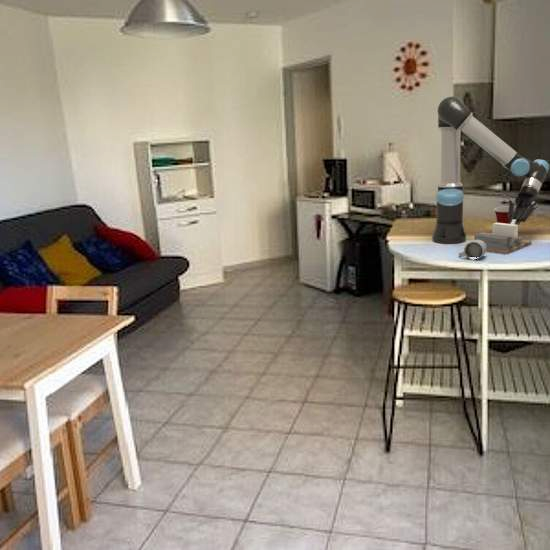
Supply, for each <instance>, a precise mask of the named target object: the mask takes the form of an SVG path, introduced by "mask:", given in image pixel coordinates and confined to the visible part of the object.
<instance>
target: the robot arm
mask: <svg viewBox="0 0 550 550" xmlns="http://www.w3.org/2000/svg"><path fill="white" fill-rule="evenodd" d="M437 118H438V119H437V128H438V130H439V131H441V132H440V133H441V135H440V136H441V145H440V146H441V149H440V150H441V156H440V157H441V158H440V159H441V160H440V162H441V165H440V167H441V168H440V176H441V177H440V179H441V180H440V183H439V184H438V185H437V193H436V224H435V228H434V231H433V233H432V239H431V240H432V242H434V243H437V244H446V245H447V244H454V245H455V244H459V243H460V244H461V243H465V242H466V241H467V234H466V232H465V227H464V224H463V220H464V217H463V215H464V198H465V197H464V184H463V183H462V182H461V132H462V133H463V134H465V135H466V136H467V137H468V138H470V139H471V141H473V142H475V143H476V144H477V145H478V146H479V147H481V148H482V149H483V150H484V151H485V152H487V153H488V154H489V155H491V157H492V158H494V159H495V160H496V161H497V162H499V163H500V164H501V165H502V167H503V168H504V169H506V170H509V172H510V173H511V174H512V175H514V176H515V177H524V181H523V183H522V185H521V188H520V190H519V192H518V195H517V197H516V198H515V199H513V200H511V199H510V200H508V204H509V211H508V219H509V220H510V222H509V224H515V225H518V226H519V225H520V223H522V222H523V223H525V222H526V221H527V219H529V217H530V216H531V214H532V213H533V212H534V210H536V209H537V208H538V207H539V205H538V203H537V201H536V198H537V196H538V194H539V192H540V189H541V187H542V186H543V183H544V181H545V179H546V177H547V175H548V172H549V169H550V164H549V163H548V161H546V160H544V159H540V158H539V159H535V160H533V161H532V160H530V159H527V158H526V157H524V156H522V155H521V154H520V153H518V152H517V151H516V150H514V148H512V147H511V146H510V145H508V144H507V143H506V142H505V141H503V140H502V139H501V137H499V136H497V135H496V134H495V132H493V131H492V130H490V129H489V128H488V127H487V126H486V125H484V124H483V123H482V122H481V121H479V120H478V119H477V118H476V117H474V116H473V111H471V110H470V109H468V107H467V106H466V105H465V104H464V101H463V100H462V99H461V98H460V97H457V96H448V97H447V96H446V97H445V98H444V99H442V100H441V102H439V104H438V106H437ZM514 207H516V208H515V210H514ZM513 210H514V212H513Z"/></svg>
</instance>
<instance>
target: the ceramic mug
mask: <svg viewBox="0 0 550 550" xmlns="http://www.w3.org/2000/svg"><path fill="white" fill-rule="evenodd" d="M486 250H487V246H486V244H485V242H483V241H482V240H474V239H473V240H472V241H470V242H467V243H466V245H465V246H464V248H463V250H462V251H461V252H458V256H459V258H462V257H466V258H467V259H468V258H469V257H476V258H477V257H479V258H477V260H479V259H481V258H482V257H483V256H484V255H485V254H486V253H487V252H486Z"/></svg>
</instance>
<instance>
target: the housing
mask: <svg viewBox="0 0 550 550" xmlns="http://www.w3.org/2000/svg"><path fill="white" fill-rule="evenodd" d="M473 240H482V241H483V242H485V244H486V246H487V250H486V253H492V252H493V254H499V253H502V254H501V255H506V254H507V255H509V254H512V253H514V252H517V251H519V250H521V249H524V248H526V247H528V246H532V240H526V239H522V236H518V237H517V238H514V239H513V236H507V235H498V234H492V233H487V232H479V233H476V234H474V236H473ZM511 252H512V253H511ZM508 253H509V254H508Z"/></svg>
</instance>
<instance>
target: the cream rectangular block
mask: <svg viewBox="0 0 550 550" xmlns="http://www.w3.org/2000/svg"><path fill="white" fill-rule="evenodd" d="M491 231H492V233H491V234H498V235H507V236H513V239H514V238H517V237H519V232H518V231H519V225H515V224H505V223H497V222H494V223H492V230H491Z"/></svg>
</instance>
